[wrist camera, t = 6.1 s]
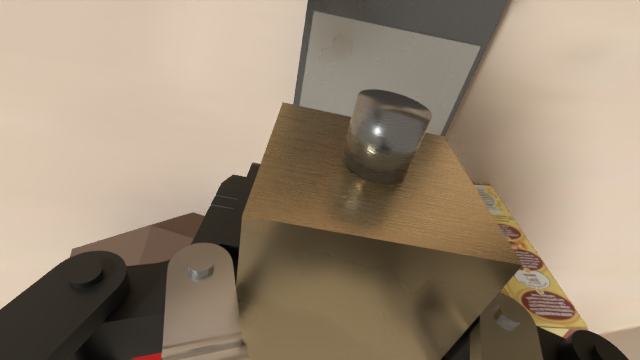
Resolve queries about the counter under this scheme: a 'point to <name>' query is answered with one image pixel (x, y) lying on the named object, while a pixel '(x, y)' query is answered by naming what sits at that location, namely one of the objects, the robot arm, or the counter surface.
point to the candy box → (532, 276)
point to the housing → (364, 238)
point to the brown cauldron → (149, 245)
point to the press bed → (393, 52)
